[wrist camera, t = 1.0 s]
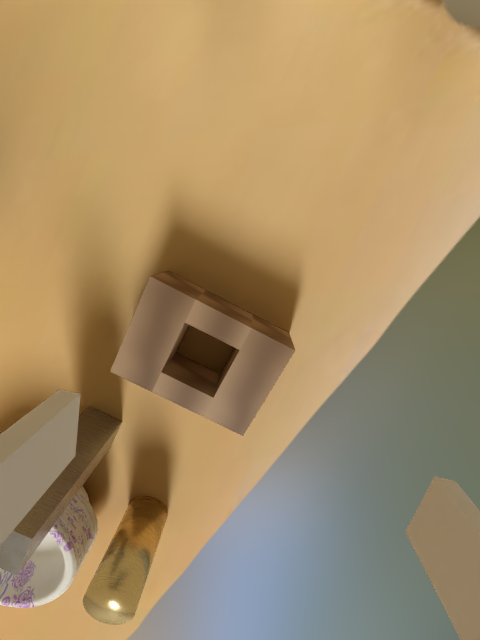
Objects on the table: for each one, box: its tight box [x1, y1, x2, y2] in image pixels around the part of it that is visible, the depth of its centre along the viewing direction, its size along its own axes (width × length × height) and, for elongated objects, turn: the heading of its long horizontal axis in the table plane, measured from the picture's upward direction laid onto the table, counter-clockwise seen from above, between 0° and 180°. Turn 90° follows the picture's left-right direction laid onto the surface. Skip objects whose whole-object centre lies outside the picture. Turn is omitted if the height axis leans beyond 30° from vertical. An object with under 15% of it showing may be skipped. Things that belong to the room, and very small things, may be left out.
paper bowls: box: [0, 486, 98, 608], centre depth 34 cm, size 15×15×8 cm
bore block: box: [110, 271, 295, 436], centre depth 28 cm, size 14×10×5 cm
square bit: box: [0, 406, 122, 575], centre depth 28 cm, size 4×4×14 cm
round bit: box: [83, 496, 167, 625], centre depth 33 cm, size 5×5×10 cm
